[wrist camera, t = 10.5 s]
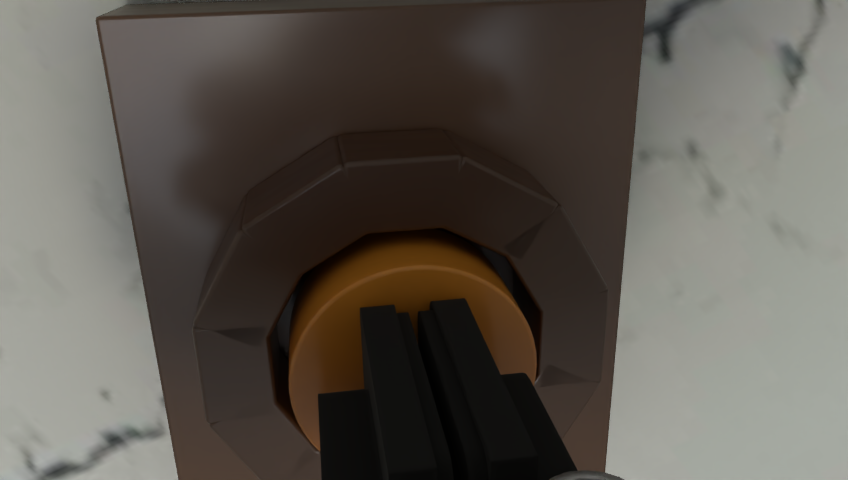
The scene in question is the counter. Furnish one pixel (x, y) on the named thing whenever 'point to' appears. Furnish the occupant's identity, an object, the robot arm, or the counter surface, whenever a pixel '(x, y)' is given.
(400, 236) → the warm button
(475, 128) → the control block
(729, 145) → the counter surface
